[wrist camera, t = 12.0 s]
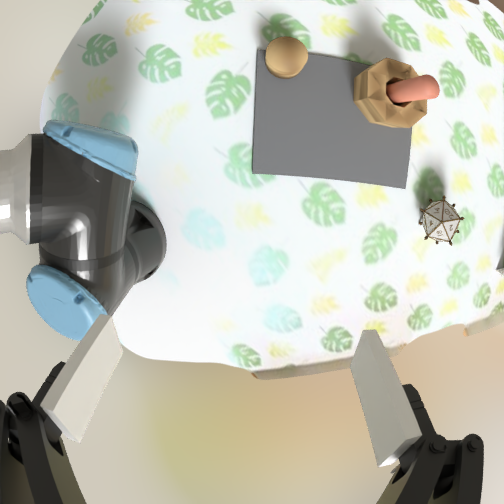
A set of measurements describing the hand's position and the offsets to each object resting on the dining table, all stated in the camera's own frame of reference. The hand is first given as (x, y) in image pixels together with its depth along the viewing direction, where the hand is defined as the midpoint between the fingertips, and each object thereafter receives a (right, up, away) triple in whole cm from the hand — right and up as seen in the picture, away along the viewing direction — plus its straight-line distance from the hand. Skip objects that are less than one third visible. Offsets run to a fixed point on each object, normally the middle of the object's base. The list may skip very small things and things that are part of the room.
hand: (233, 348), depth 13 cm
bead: (+22, +29, +21) cm, 42 cm away
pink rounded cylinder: (+22, +29, +21) cm, 42 cm away
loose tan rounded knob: (+6, +33, +20) cm, 39 cm away
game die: (+34, +12, +30) cm, 47 cm away
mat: (+14, +25, +24) cm, 38 cm away
